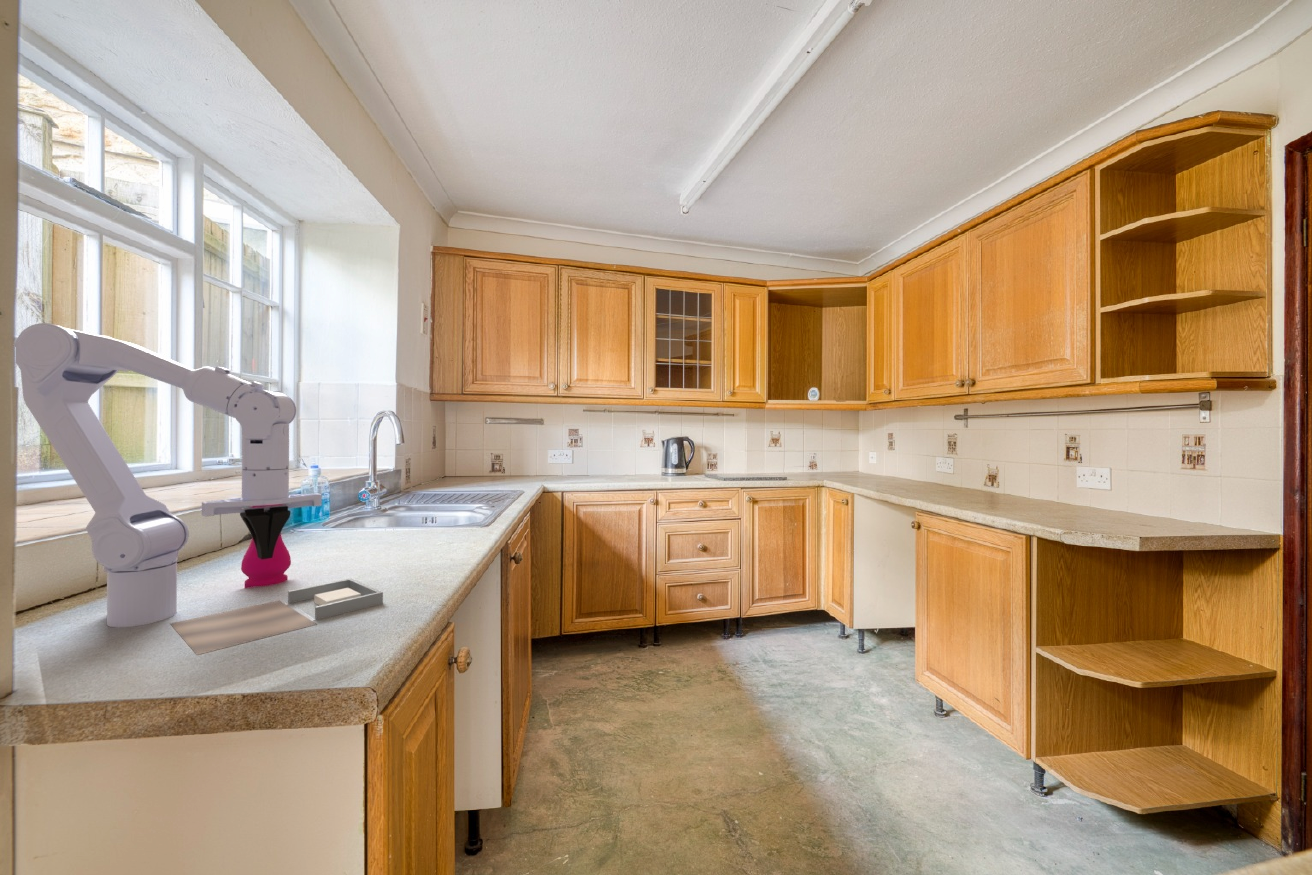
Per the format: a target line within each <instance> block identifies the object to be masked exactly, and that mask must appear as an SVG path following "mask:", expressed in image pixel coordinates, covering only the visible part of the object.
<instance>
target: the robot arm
mask: <svg viewBox="0 0 1312 875" xmlns="http://www.w3.org/2000/svg"><path fill="white" fill-rule="evenodd" d="M14 343H15V347H16V362H15V364H16V365H17V367H18V368H19V370H20V375H21V376H20V377H21V387H22V398H23V401H24V403H25V406H26V407H27V409H29V411H30V413H31V415H32V416H33V417H34V419H35V421H36V423H37V424H38V426H39V427H40V429H41V430H42V432H43V433H44V435H45V436H46V438H47V439H48V441H49V443H50V444H51V445H52V447H53V449H54V451H55V452H56V454H57V455H58V457H59V458H60V460H61V461H62V462H63V464H64V466H65V467H66V469H67V470H68V472H69V473H70V476H71V477H72V478H73V480H74V482H75V483H76V485H77V486H78V487H79V489H80V491H81V492H82V494H83V496H84V498H86V500H87V502H88V503H89V505H90V507H91V508H92V510H93V511H94V515H93V516H92V517H91V519H90V521H89V522H88V524H87V525H86V527H85V530H86V532H87V533H88V535H89V537H90V540H91V553H92V555H93V558H94V560H95V561H96V562H97V563H98V564H100V566H102V567H103V568H104V571H103V572H105V573H106V626H108V627H111V628H128V627H136V626H138V627H139V626H143V625H148V624H152V623H157V622H161V621H163V620H167V619H169V618H171V617H173V616H175V615H176V614H177V613H178V611H177V610H178V609H177V606H178V604H177V603H178V600H177V599H178V598H177V597H178V592H177V591H178V559H179V551H180V550H182V549H183V548H184V547H185V546H186V544H187V543H188V540H189V536H190V531H189V529H188V525H187V524H186V523H185V522H184V520H183V519H181V518H180V517H178V516H176V515H174V514H173V513H172V512H171V511H170V510H169V509H168V506H166V505H165V503H162V502H161V501H159V500H156V499H154V498H152V497H150V496H149V495H147V494H146V493H145V492H144V490H143V488H142V486H141V484H140V483H139V482H138V480H137V478H136V477H135V475H134V473H133V472H132V470H131V468H130V467H129V466H128V464H127V462H126V461H125V459H124V458H123V456H122V455H121V452H120V451H119V450H118V448H117V447H116V445H115V443H114V441H113V440H112V438H111V437H110V436H109V435H110V434H108V433H107V431H106V429H105V427H104V426H103V424H102V422H101V421H100V419H99V418H98V416H97V415H96V414H95V412H94V410H93V409H92V407H91V405H90V403H89V400H90V398H92V395H93V394H95V393H96V392H97V391H99V389H100V388H102V387H103V386H104V385H105V384H106V383H107V382H108V381H109V380H111V379H112V378H113V377H114V376H116V375H117V374H118V372H119V371H120V372H130V371H131V372H134V373H136V374H139V375H143V376H146V377H147V378H151V379H154V380H157V381H159V382H163V383H165V384H168V385H171V386H174V387H176V388H179V389H182V391H183V394H184V396H185V398H186V399H187V400H188V401H189V402H192V403H193V404H196V405H200V406H202V407H205V408H208V409H210V410H213V411H215V412H218V413H221V414H222V415H225V416H227V417H228V416H229V417H231V418H233V419H235V420H236V421H237V422H238V423H239V424H240V427H241V436H242V437H241V445H242V446H241V449H242V450H241V497H237V498H236V497H235V498H228V499H219V500H218V499H217V500H209V501H206V500H205V501H201V516H202V517H213V516H218V515H228V514H239V516H240V518H241V520H242V521H243V522H244V525H245V526H246V528H247V529H248V531H249V533H250V535H251V539H252V538H253V540H254V543H255V546H256V550H257V556H258V558H260V559H268V558H273V553H274V549H275V546H276V542H277V540H278V537H279V535H280V533H281V532H282V530H283V528H284V527H285V525H286V523H287V522H288V520H289V519H290V517H291V510H289V509H293V508H295V509H297V508H304V507H305V508H306V507H322V503H323V502H322V501H323V500H322V499H323V498H322V497H323V496H322V494H321V493H318V492H314V493H313V492H312V493H296V494H295V493H294V494H290V493H289V489H290V488H289V487H290V486H289V485H290V424H291V423H292V422H293V421H294V419H295V418H296V415H297V407H296V404H295V402H294V400H293V399H292V398H291V397H289V396H288V395H287V394H285V393H284V392H282V391H280V390H279V391H278V390H265V389H264V388H263V387H264V385H263V383H261V382H258V381H252V382H249V381H248V380H247V381H246V380H244V379H242V378H239V377H236V376H234V375H232V374H231V370H230V369H228V368H226V367H223V366H215V368H214V367H211V366H203V367H200V368H197V369H193V368H191V367H189V366H187V365H184V364H182V363H180V362H178V361H175V360H173V359H171V358H169V357H166V356H163V355H161V354H159V353H157V352H154V351H152V350H149V349H147V348H145V347H143V346H140V345H138V344H135V343H132V342H130V341H129V342H128V341H126V340H121V339H116V338H113V337H111V336H108V335H105V334H95V333H89V332H85V331H80V330H77V329H72V328H67V327H63V326H61V325H59V324H58V325H57V324H54V323H47V322H43V323H41V322H40V323H34V324H32V325H29V326H27V327H25V328H24V329H23V330H22V331H21V332H20V333H19V335H18V336H17V338H16V340H15V341H14ZM276 504H282V505H279V506H267V507H255V508H252V506H262V505H276ZM264 510H265V511H264ZM281 534H282V533H281Z"/></svg>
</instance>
